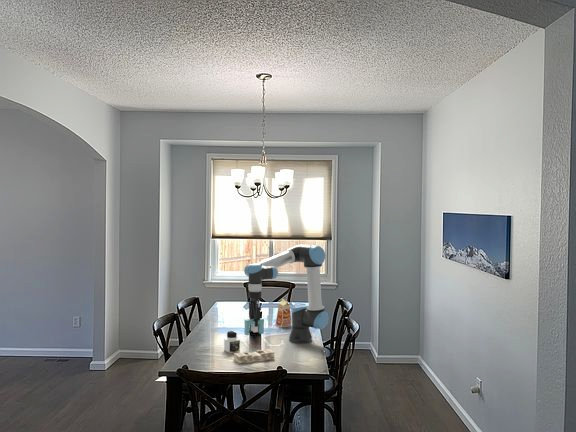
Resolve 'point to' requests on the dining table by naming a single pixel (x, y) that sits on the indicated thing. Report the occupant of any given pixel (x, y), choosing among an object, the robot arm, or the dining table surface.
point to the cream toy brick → (254, 356)
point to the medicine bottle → (231, 342)
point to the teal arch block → (250, 321)
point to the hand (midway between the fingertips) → (254, 331)
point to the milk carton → (283, 314)
